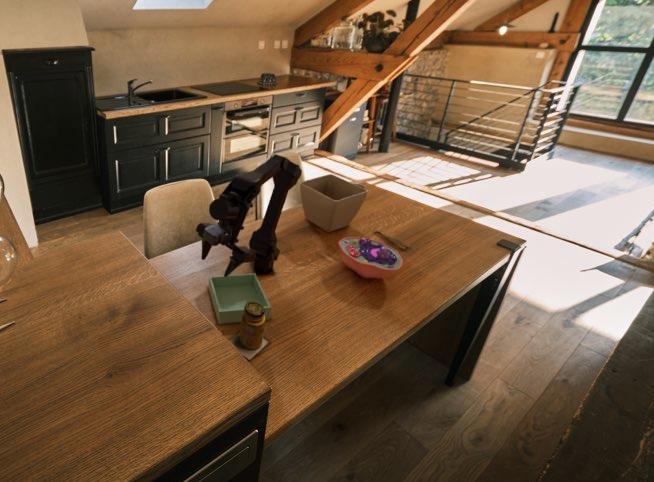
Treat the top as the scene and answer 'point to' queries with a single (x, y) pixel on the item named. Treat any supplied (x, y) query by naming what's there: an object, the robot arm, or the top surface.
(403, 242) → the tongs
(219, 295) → the tray
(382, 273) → the cell model
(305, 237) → the top surface
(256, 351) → the condiment
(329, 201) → the flower pot
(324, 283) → the top surface
